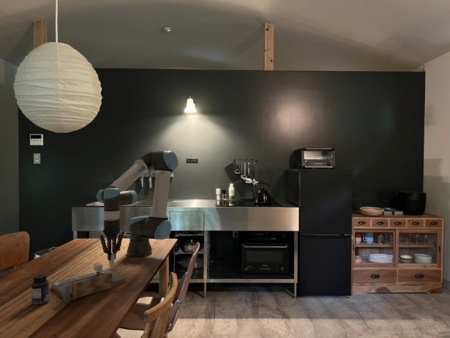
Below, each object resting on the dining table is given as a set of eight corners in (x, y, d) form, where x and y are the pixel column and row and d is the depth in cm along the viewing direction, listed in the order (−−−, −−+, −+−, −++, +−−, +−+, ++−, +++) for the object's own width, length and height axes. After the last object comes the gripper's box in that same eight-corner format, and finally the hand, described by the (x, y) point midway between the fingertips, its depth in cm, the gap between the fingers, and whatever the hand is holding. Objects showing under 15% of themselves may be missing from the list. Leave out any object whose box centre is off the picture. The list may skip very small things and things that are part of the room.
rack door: (111, 287, 140) (110, 272, 140) (112, 288, 139) (112, 273, 139) (71, 298, 129) (71, 282, 128) (72, 300, 127) (72, 283, 127)
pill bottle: (45, 298, 129) (45, 272, 129) (51, 302, 126) (51, 275, 125) (28, 303, 125) (28, 276, 125) (34, 307, 121) (34, 279, 121)
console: (107, 273, 159) (107, 267, 159) (124, 282, 146) (124, 276, 146) (51, 287, 141) (51, 281, 141) (65, 299, 128) (64, 293, 128)
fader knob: (98, 272, 153) (98, 262, 153) (102, 275, 150) (102, 264, 150) (93, 274, 151) (93, 263, 151) (97, 276, 148) (97, 265, 148)
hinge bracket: (68, 299, 128) (67, 282, 128) (70, 301, 126) (70, 284, 126) (62, 301, 127) (62, 284, 127) (65, 303, 125) (65, 286, 125)
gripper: (120, 216, 162) (120, 261, 162) (95, 219, 153) (95, 267, 153) (127, 218, 157) (127, 265, 157) (102, 221, 148) (101, 271, 148)
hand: (111, 266), depth 155 cm, fingers closed
